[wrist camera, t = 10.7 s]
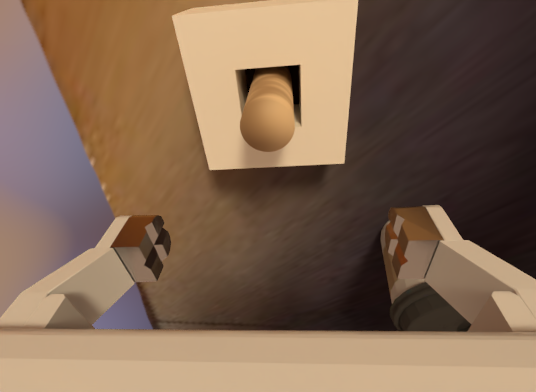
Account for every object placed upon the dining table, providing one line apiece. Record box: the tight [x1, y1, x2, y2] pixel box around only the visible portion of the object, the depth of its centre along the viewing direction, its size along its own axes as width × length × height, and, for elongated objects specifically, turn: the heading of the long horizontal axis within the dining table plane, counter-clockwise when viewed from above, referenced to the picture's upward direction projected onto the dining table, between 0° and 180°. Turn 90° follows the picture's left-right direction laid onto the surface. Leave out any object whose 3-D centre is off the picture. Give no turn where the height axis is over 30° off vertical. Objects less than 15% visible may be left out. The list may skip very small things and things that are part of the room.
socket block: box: [172, 0, 358, 170], centre depth 28 cm, size 14×14×6 cm
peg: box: [240, 66, 295, 152], centre depth 26 cm, size 4×4×12 cm
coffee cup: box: [381, 221, 472, 332], centre depth 37 cm, size 11×11×15 cm
